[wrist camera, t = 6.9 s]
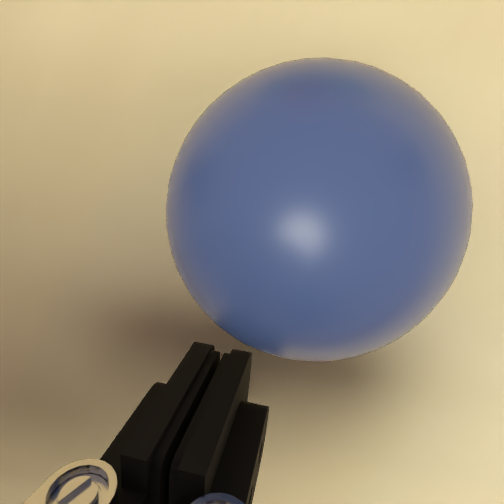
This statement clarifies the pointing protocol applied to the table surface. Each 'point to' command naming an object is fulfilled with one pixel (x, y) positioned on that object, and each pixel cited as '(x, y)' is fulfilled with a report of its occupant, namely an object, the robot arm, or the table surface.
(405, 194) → the blue ball
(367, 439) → the table surface
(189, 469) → the robot arm
